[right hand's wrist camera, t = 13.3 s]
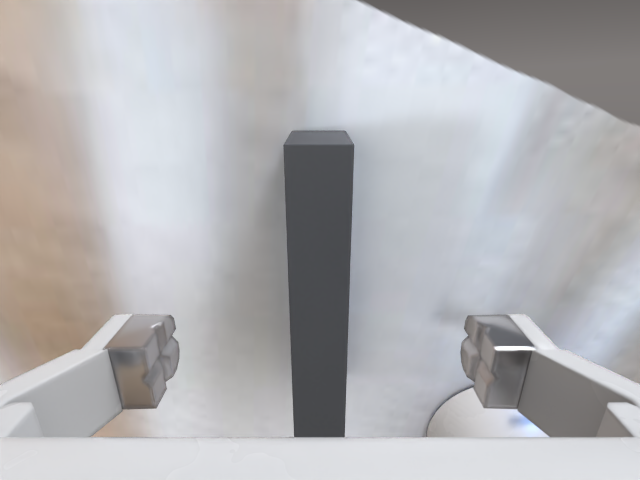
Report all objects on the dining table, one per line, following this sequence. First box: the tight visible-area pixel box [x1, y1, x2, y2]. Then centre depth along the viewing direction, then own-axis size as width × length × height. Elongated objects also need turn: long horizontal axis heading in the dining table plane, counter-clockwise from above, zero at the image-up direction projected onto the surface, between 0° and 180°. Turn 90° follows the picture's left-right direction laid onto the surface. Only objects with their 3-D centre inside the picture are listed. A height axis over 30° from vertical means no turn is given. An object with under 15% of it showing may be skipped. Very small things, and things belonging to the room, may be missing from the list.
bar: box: [284, 131, 354, 437], centre depth 32 cm, size 26×4×8 cm, turn 0°
